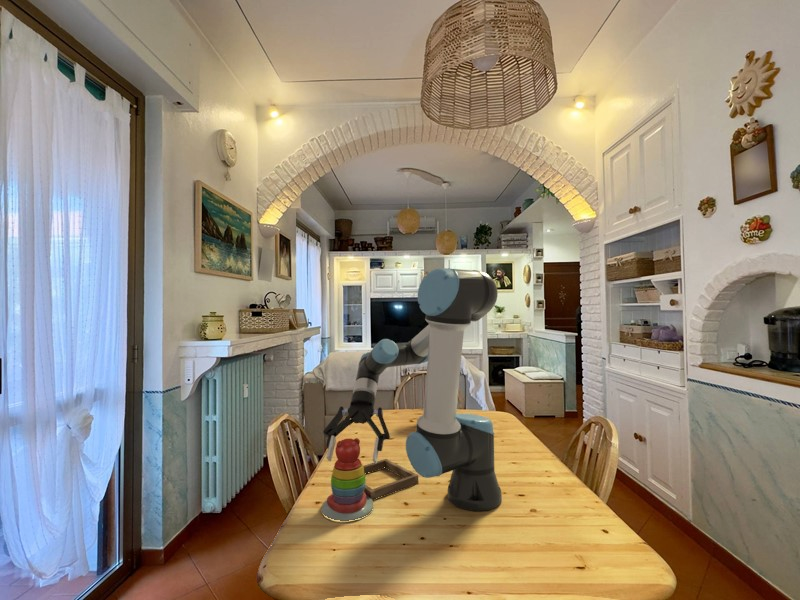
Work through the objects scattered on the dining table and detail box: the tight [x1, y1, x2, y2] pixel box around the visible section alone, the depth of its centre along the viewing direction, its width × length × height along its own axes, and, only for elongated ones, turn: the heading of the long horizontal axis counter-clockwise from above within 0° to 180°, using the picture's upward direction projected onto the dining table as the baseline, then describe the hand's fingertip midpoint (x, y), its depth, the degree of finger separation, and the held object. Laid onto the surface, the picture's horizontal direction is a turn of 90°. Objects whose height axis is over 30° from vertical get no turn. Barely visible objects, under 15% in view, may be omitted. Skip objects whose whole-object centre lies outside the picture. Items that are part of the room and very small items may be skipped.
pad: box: [321, 495, 374, 521], centre depth 105 cm, size 14×14×1 cm
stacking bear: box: [326, 437, 367, 513], centre depth 105 cm, size 11×10×18 cm
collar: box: [363, 458, 419, 501], centre depth 121 cm, size 17×17×2 cm
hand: (351, 460), depth 109 cm, fingers open, 13 cm apart
